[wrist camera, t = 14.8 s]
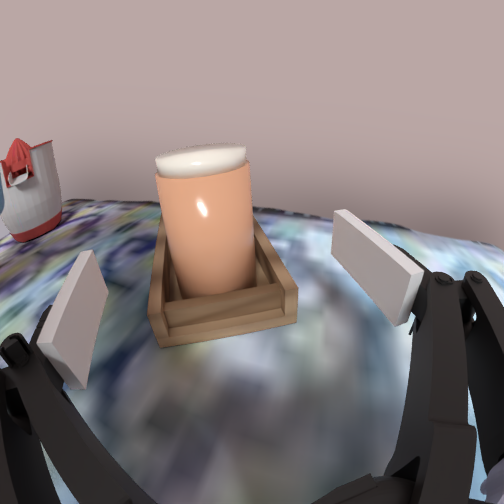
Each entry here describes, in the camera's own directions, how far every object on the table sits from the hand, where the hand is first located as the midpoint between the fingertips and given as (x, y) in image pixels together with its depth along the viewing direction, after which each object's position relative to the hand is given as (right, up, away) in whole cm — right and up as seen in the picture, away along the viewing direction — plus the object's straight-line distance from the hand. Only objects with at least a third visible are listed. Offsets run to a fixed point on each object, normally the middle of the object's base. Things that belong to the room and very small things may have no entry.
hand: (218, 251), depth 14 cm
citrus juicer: (-42, +4, +30) cm, 52 cm away
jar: (-1, -3, +11) cm, 11 cm away
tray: (-3, -1, +16) cm, 16 cm away
